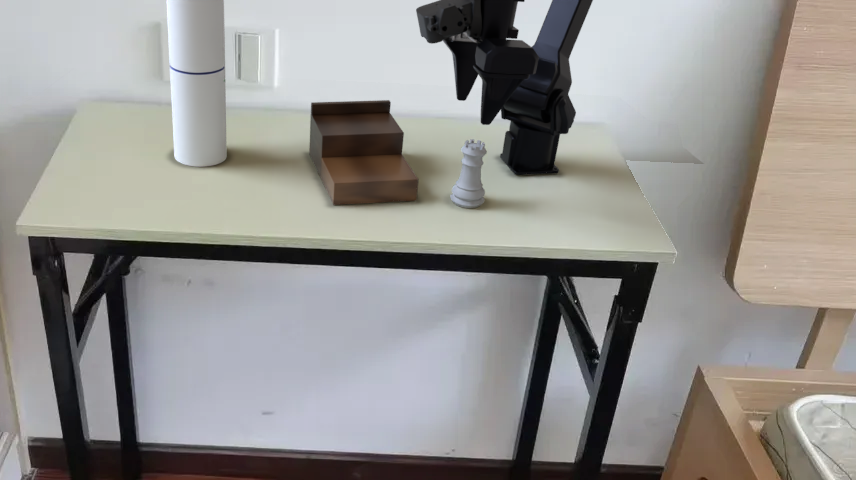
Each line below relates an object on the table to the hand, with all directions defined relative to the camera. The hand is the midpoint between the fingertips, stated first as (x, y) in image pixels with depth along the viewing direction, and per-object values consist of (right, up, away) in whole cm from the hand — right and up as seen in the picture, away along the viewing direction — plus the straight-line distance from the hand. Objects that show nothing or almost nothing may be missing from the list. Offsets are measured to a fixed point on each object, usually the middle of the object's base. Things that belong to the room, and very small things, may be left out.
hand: (472, 111), depth 118 cm
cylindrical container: (-35, -2, +15) cm, 38 cm away
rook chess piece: (0, -10, +7) cm, 12 cm away
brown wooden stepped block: (-13, -6, +12) cm, 19 cm away
